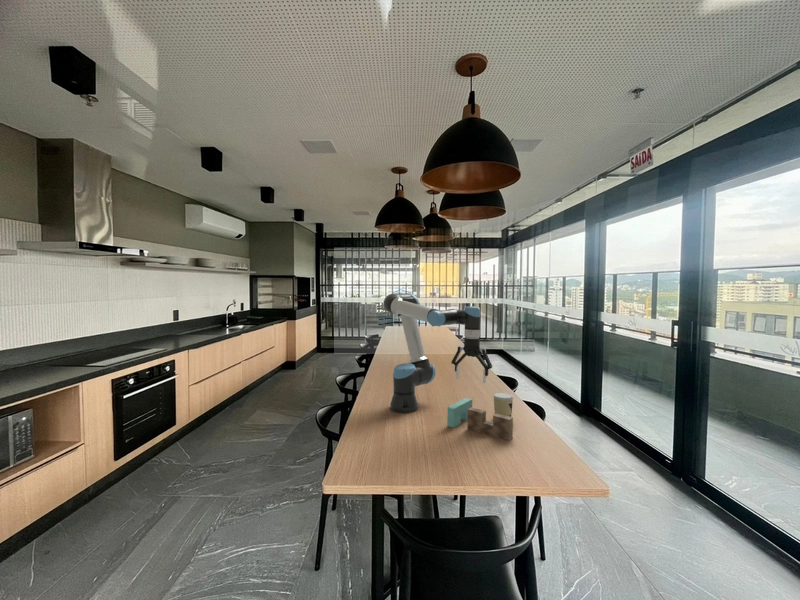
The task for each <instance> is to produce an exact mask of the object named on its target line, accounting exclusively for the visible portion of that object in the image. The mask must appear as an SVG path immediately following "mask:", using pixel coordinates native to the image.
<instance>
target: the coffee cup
mask: <svg viewBox="0 0 800 600" xmlns="http://www.w3.org/2000/svg"><path fill="white" fill-rule="evenodd" d="M492 396H493V406H494V407H493V408H494V410H493V411H494V415H495V414H501V415H505V416H509V417H512V412H513V400H514V397H513V395H512V394H510V393H507V392H495V393H494V394H493V395H492Z"/></svg>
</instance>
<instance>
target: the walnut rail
mask: <svg viewBox="0 0 800 600" xmlns="http://www.w3.org/2000/svg"><path fill="white" fill-rule="evenodd" d="M513 420H514V417H512V416H511V417H509V416H505V415H501V414H495V413H494V414H493V415H492V421H488V420H487V411H486V410H483V409H479V408H476V407H473V406H472V407H471V408H469V409H468V412H467V420H466V421H467V424H466V425H467V427H466V429H467V430H471V431H474V432H478V433H481V434H485V435H489V436H491V437H494V438H498V439H499V438H500V439H503V440H504V441H511V440H512V439H513V437H514V436H513V434H514V433H513V432H514V431H513V430H514V429H513V428H514V427H513V425H514V423H513V422H514V421H513Z"/></svg>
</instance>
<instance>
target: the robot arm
mask: <svg viewBox="0 0 800 600" xmlns="http://www.w3.org/2000/svg"><path fill="white" fill-rule="evenodd" d="M382 304H383V308H384V310H385V311H386V312H387V313H388V314H393V315H397V317H398V319H400V321H401V324H402V328H403V332H404V333H403V334H404V337H405V341H406V344H407V345H406V346H407V349H408V353H409V358H410V360H409V362H405V363H399V364H397V365H395V367H394V368H393V373H392V375H393V376H392V378H393V380H392V381H393V382H392V383H393V395H392V397H391V401H390V407H389V408H390V410H391V411H394V412H396V413H403V414H404V413H407V414H408V413H412V412H413V413H414V412H416V411H417V410H418V409H419V403H418V400H417V396H416V391H415V390H416V387H419V386H421V385H422V386H423V385H426V384H429V383H432V382H433V381H434V380H435V379H434V378H435V377H436V367H435V365H434V364H433V363H432V362H431V361H430V360H429V358H428V357H426V355H425V350H424V346H423V342H422V337H421V333H420V328H419V326H418V322H417V320H419V321H423V322H426V323H428V324H429V325H430V326H432V327H442V326H448V325H449V326H450V325H460V326H461V325H463V326H464V328H463V329H464V330H463V331H464V333H463V335H464V339H463V346H462V345H458V346H457V351H456V352H455V354H454V356H453V358H452V361H451V365H452V364H453V365H454V372H456V375H455V376H456V378H455V379H456V380H457V379H460V376H461V375H460V374H461V365H460V363H461V362H462V361H463V360H464V359H465V358H466V356H468V357H471V358H476V359H477V360H478V362H479V363H480V364H481V365H482V367H483V372H482V374H483V375H482V383H483V384H486V382H487V377H489V370H491V369H492V368H493V365H492V362H491V360H490V358H489V356H488V354H487V348H481V347H480V346H481V343H480V341H481V340H480V338H481V317H482V315H481V308H480V307H479V306H473V305H472V306H465V307H464V309H456V308H448V309H443V310H442V309H437V308H433V307H430V306H426V305H421V304H420V302H419V299H418V298H417V296H416V295H415V294H413V293H408V292H405V293H403V292H402V293H398V292H397V293H394V292H393V293H390V294H388V295H386V297H385V298H384V300H383V303H382ZM462 351H464V353H463V354H462V355H461V356H460V354H461V352H462ZM480 353H481V354H482V356H483V357H482V356H481V354H480ZM459 356H460V357H459ZM458 357H459V359H458Z"/></svg>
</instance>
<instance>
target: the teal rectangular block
mask: <svg viewBox="0 0 800 600" xmlns="http://www.w3.org/2000/svg"><path fill="white" fill-rule="evenodd" d="M471 407H472V408H473V398H469V397H465V398H463V399H461V400H459V401H457V402H455V403H453V404H451V405H449V406H447V427H450V428H453V429H454V428H456V427H458V426H460V425H461V424H462V421H467V412H468V409H469V408H471Z"/></svg>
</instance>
